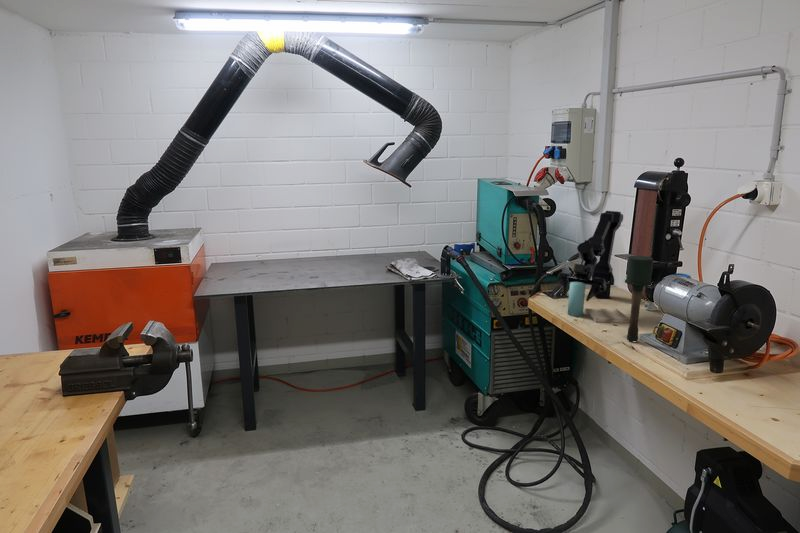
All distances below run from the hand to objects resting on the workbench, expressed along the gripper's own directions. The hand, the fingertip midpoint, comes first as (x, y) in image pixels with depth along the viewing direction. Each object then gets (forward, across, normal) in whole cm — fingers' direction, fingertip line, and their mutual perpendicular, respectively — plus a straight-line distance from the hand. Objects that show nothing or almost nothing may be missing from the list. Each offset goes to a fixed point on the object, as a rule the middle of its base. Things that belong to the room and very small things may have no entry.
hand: (575, 298), depth 215 cm
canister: (+4, 0, +6) cm, 7 cm away
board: (+1, +11, +9) cm, 14 cm away
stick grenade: (+17, +27, -6) cm, 32 cm away
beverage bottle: (-3, +35, +13) cm, 37 cm away
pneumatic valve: (-14, +23, +24) cm, 36 cm away
